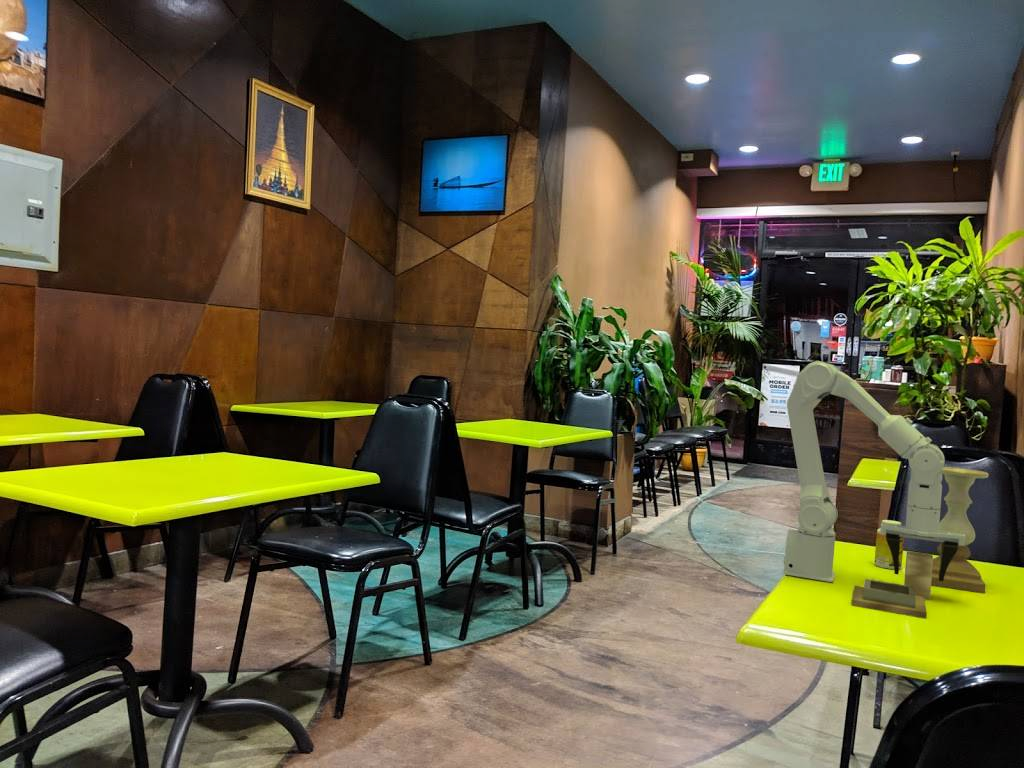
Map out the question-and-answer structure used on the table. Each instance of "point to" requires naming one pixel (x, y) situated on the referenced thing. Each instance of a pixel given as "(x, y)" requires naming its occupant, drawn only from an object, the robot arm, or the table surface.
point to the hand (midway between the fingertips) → (918, 576)
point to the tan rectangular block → (919, 573)
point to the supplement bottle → (886, 549)
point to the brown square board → (917, 611)
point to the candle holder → (959, 532)
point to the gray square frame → (889, 593)
